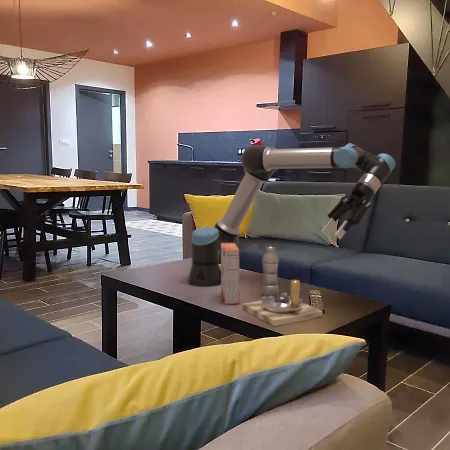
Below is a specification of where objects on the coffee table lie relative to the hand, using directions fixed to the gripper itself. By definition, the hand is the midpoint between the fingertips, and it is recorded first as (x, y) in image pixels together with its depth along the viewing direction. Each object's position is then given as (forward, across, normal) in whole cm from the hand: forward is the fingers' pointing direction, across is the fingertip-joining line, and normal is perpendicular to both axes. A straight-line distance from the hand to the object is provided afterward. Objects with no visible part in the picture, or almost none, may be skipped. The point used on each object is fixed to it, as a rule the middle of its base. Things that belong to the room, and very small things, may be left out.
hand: (330, 235), depth 170 cm
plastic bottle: (+27, +21, -11) cm, 36 cm away
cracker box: (+38, +25, 0) cm, 46 cm away
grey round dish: (+31, +1, -3) cm, 31 cm away
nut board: (+33, +2, -5) cm, 33 cm away
